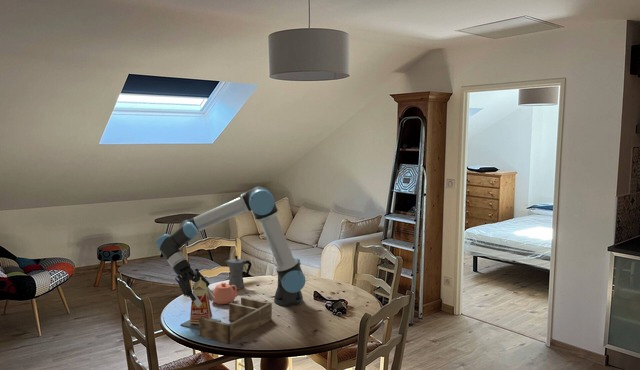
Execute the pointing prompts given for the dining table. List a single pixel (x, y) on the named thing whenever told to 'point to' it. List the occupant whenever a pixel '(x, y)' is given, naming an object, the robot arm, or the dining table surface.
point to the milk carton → (203, 296)
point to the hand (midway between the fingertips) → (206, 302)
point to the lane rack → (237, 321)
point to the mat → (194, 326)
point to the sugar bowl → (224, 293)
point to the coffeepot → (237, 271)
